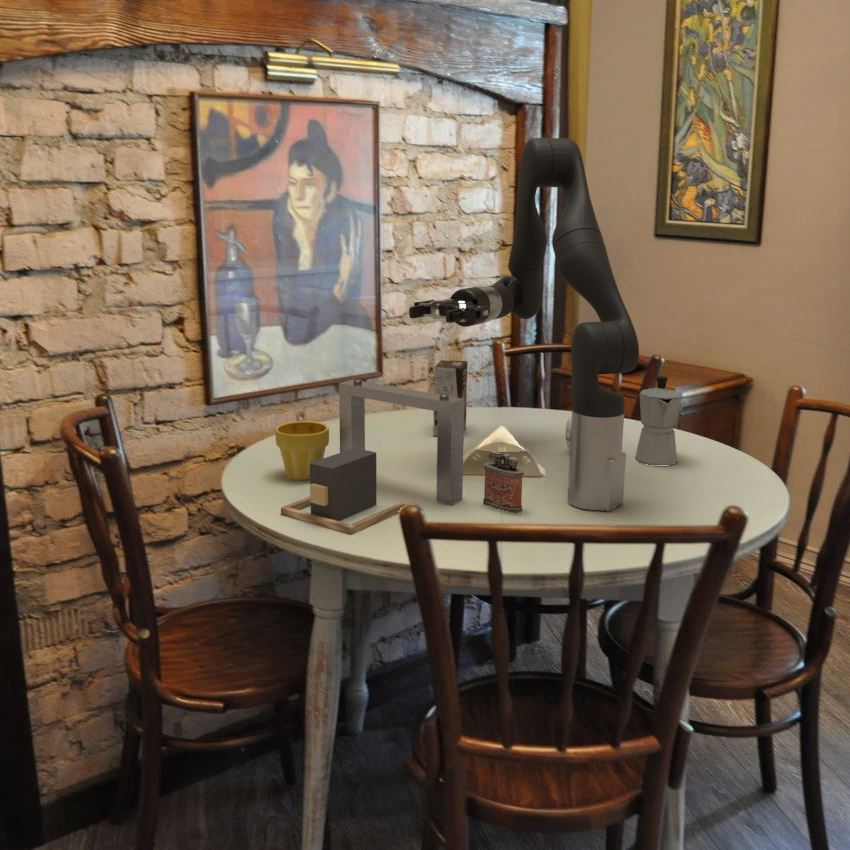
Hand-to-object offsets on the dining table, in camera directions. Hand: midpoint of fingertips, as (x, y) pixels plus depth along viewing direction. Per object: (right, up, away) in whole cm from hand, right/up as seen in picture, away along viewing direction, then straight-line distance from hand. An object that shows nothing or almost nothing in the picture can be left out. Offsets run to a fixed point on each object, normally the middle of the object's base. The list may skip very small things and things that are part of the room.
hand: (429, 315), depth 185 cm
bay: (-15, -36, -11) cm, 41 cm away
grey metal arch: (-6, -33, +1) cm, 33 cm away
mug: (+34, -28, +23) cm, 49 cm away
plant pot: (-25, -31, +8) cm, 40 cm away
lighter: (+13, -36, -8) cm, 39 cm away
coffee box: (+5, -23, +40) cm, 46 cm away
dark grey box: (-15, -36, -11) cm, 41 cm away
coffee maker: (+48, -28, +21) cm, 59 cm away
